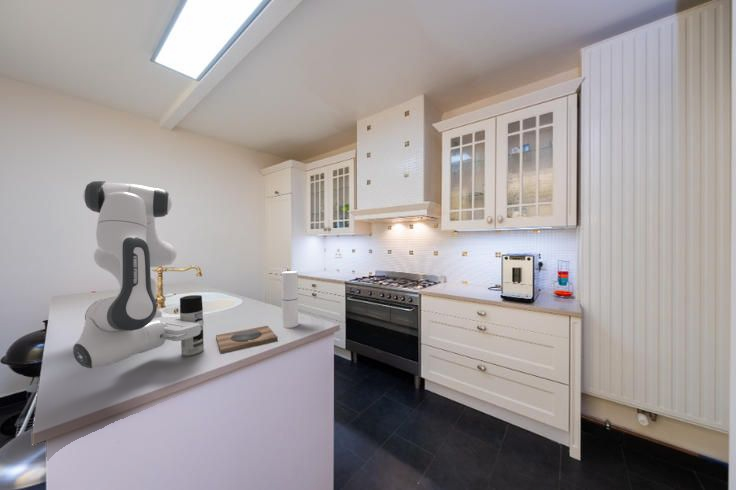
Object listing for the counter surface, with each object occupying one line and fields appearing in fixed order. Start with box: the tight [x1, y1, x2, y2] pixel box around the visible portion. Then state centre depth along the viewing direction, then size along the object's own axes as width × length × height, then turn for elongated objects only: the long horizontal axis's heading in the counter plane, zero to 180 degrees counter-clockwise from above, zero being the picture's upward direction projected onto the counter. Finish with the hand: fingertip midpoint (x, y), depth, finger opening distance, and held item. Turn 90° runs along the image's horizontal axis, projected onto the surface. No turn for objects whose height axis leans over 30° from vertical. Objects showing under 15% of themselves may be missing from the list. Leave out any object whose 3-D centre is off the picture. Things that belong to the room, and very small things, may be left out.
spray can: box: [179, 294, 205, 357], centre depth 92 cm, size 7×7×20 cm
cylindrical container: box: [281, 270, 299, 329], centre depth 121 cm, size 7×7×25 cm
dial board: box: [215, 325, 278, 354], centre depth 104 cm, size 16×20×2 cm
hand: (194, 320), depth 93 cm, fingers closed on spray can, 7 cm apart
